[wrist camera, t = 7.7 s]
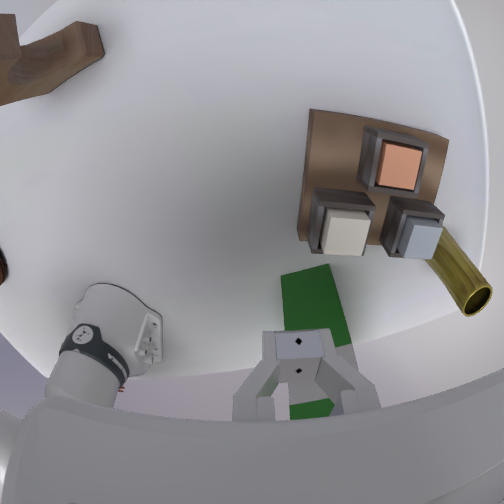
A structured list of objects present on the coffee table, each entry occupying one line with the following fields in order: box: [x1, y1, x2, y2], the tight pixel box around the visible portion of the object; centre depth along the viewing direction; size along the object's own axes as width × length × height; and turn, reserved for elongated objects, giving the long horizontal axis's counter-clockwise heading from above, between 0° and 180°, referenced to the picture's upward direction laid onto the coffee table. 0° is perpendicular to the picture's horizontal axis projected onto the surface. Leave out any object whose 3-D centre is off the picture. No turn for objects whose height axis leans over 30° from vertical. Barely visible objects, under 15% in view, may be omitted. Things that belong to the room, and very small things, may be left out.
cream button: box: [319, 207, 371, 256], centre depth 30 cm, size 4×4×3 cm
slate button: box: [397, 215, 443, 259], centre depth 30 cm, size 4×4×3 cm
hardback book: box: [281, 264, 359, 420], centre depth 36 cm, size 18×7×24 cm, turn 19°
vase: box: [425, 226, 492, 317], centre depth 32 cm, size 6×6×14 cm
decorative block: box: [0, 14, 104, 106], centre depth 16 cm, size 11×6×20 cm, turn 104°
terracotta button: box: [375, 139, 422, 190], centre depth 26 cm, size 4×4×3 cm
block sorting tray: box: [297, 109, 449, 258], centre depth 31 cm, size 16×18×7 cm
